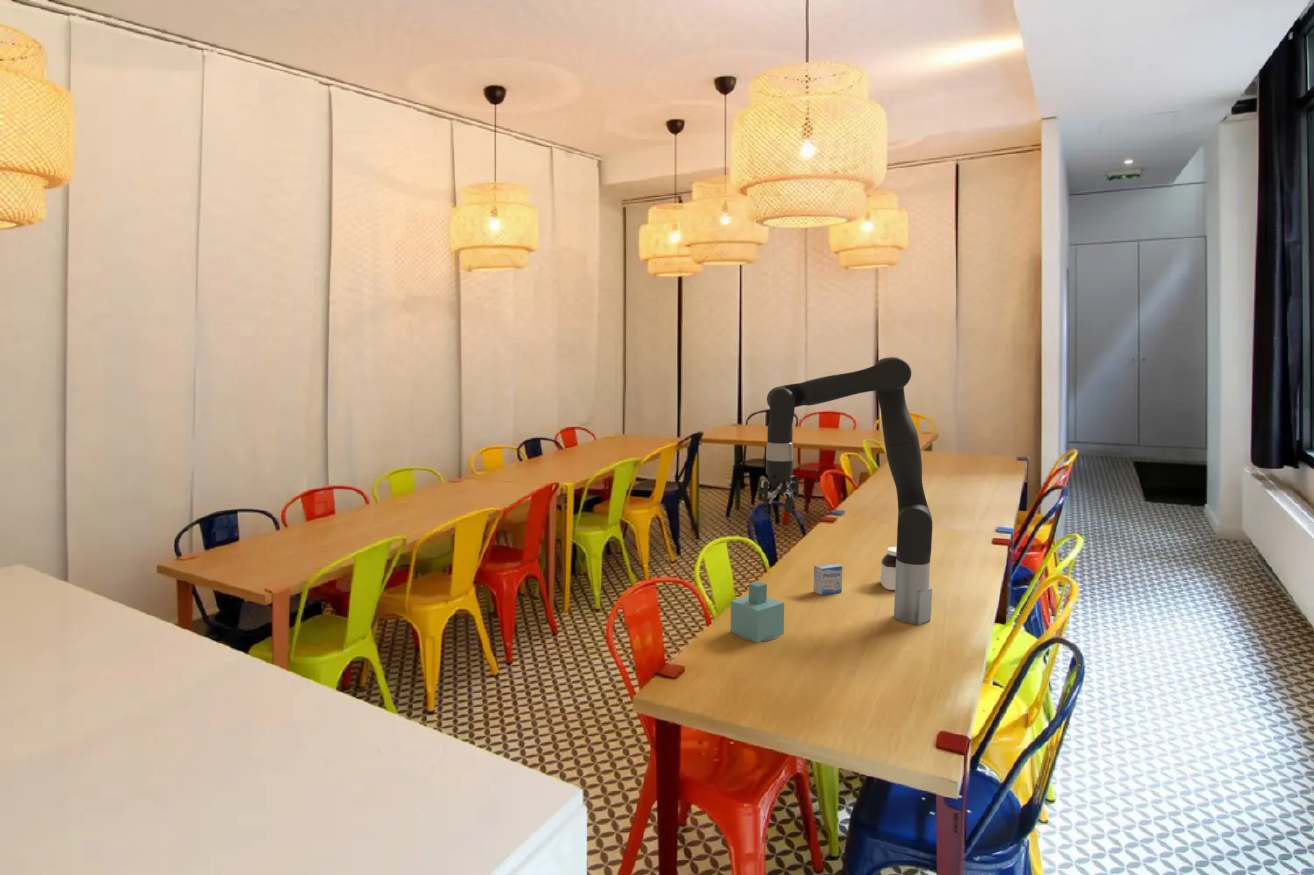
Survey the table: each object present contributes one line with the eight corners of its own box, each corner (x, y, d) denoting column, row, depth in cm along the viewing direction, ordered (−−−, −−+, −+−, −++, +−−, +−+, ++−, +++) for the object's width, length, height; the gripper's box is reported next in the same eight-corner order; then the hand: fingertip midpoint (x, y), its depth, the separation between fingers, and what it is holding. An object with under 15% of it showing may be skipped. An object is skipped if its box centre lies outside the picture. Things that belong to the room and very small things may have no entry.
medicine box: (820, 595, 244) (821, 569, 243) (812, 591, 248) (813, 565, 247) (842, 592, 247) (842, 566, 246) (833, 588, 251) (834, 562, 250)
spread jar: (907, 580, 259) (909, 546, 258) (920, 591, 248) (922, 555, 247) (872, 580, 259) (873, 546, 257) (883, 591, 248) (884, 556, 246)
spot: (789, 634, 213) (789, 633, 213) (758, 645, 206) (758, 644, 206) (757, 621, 222) (757, 620, 222) (726, 631, 215) (726, 630, 215)
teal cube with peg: (783, 633, 213) (784, 584, 212) (757, 642, 207) (758, 592, 205) (756, 623, 221) (757, 575, 219) (730, 631, 215) (731, 583, 213)
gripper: (771, 462, 214) (770, 520, 216) (806, 457, 223) (805, 512, 225) (752, 458, 220) (751, 515, 222) (786, 453, 228) (785, 508, 231)
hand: (778, 514), depth 223 cm, fingers open, 8 cm apart
